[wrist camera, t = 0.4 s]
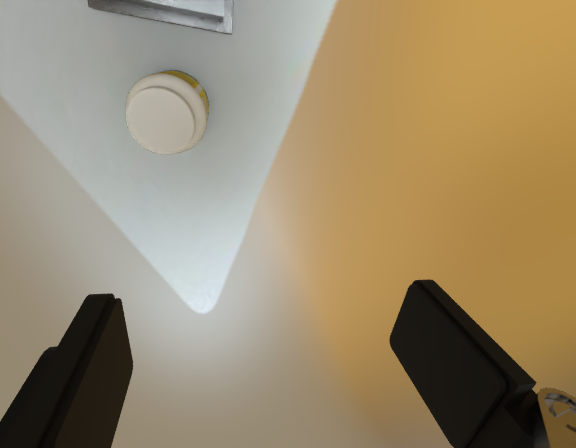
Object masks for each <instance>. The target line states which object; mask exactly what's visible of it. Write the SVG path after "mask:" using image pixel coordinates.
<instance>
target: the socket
mask: <svg viewBox="0 0 576 448" xmlns="http://www.w3.org/2000/svg"><path fill="white" fill-rule="evenodd" d="M88 5H89V7H91V8H94V9H99V10H105V11H110V12H115V13H121V14H126V15H131V16H137V17H142V18H147V19H153V20H158V21H163V22H168V23H174V24H179V25H184V26H190V27H195V28H200V29H206V30H211V31H216V32H222V33H227V34H232V13H233V0H88Z"/></svg>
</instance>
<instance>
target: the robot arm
mask: <svg viewBox="0 0 576 448" xmlns="http://www.w3.org/2000/svg"><path fill="white" fill-rule="evenodd" d="M390 345H391V348H392V350H393V351H394V353H395V354H396V356H397V358H398V359H399V361H400V363H401V364H402V366H403V368H404V369H405V371H406V373H407V374H408V376H409V377H410V379H411V381H412V382H413V384H414V386H415V387H416V389H417V390H418V392H419V394H420V395H421V397H422V399H423V400H424V402H425V404H426V405H427V407H428V408H429V410H430V412H431V413H432V415H433V417H434V418H435V420H436V421H437V423H438V425H439V426H440V428H441V430H442V431H443V433H444V435H445V436H446V438H447V439H448V441H449V443H450V444H451V445H452V446H453V447H454V448H576V398H575V397H573V396H571V395H569V394H567V393H566V392H564V391H560V390H558V389H555V388H543V389H540V390H539V392H538V393H537V394H536V393H535V392H534V391H533V390H532V388H533V387H534V385H535V384H536V382H535V381H534V380H533V379H532V378H531V377H530V376H529V375H528V374H527V373H526V372H525V371H524V370H523V369H522V368H521V367H520V366H519V365H518V364H517V363H516V362H515V361H514V360H513V359H512V358H511V357H510V356H509V355H508V354H507V353H506V352H505V351H504V350H503V349H502V348H501V347H500V346H499V345H498V344H497V343H496V342H495V341H494V340H493V339H492V338H491V337H490V336H489V335H488V334H487V333H486V332H485V331H484V330H483V329H482V328H481V327H480V326H479V325H478V324H477V323H476V322H475V321H474V320H473V319H472V318H471V317H470V316H469V315H468V314H467V313H466V312H465V311H464V310H463V309H462V308H461V307H460V306H459V305H457V303H456V302H455V301H454V300H453V299H452V298H451V297H450V296H449V295H448V294H447V293H446V292H445V291H444V290H443V289H442V288H441V287H440V286H439V285H438V284H437V283H436V282H435V281H433V280H415V281H414V282H413V283H412V285H410V286H409V288H408V291H407V293H406V296H405V298H404V301H403V304H402V306H401V309H400V312H399V314H398V317H397V320H396V322H395V325H394V327H393V330H392V333H391V335H390ZM132 370H133V360H132V355H131V349H130V344H129V338H128V333H127V328H126V322H125V317H124V311H123V306H122V301H121V299H120V298H118V299H117V298H116V299H115V298H114V295H113V294H90V295H88V296H87V297H86V298H85V300H84V302H83V304H82V305H81V307H80V309H79V311H78V312H77V314H76V316H75V317H74V319H73V321H72V322H71V324H70V326H69V328H68V329H67V331H66V333H65V334H64V336H63V338H62V340H61V342H60V343H59V345H58V346H57V347H50V348H48V349H47V350H46V351H44V353H43V354H42V355H41V357H40V358H39V360H38V362H37V363H36V365H35V366H34V368H33V370H32V371H31V373H30V374H29V376H28V378H27V379H26V381H25V382H24V384H23V386H22V387H21V389H20V391H19V392H18V394H17V396H16V397H15V399H14V400H13V402H12V403H11V405H10V407H9V408H8V410H7V412H6V413H5V415H4V416H3V418H2V420H1V421H0V448H111V445H112V442H113V438H114V435H115V431H116V428H117V424H118V421H119V417H120V414H121V410H122V407H123V403H124V400H125V396H126V393H127V389H128V386H129V382H130V379H131V375H132Z"/></svg>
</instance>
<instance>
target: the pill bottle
mask: <svg viewBox="0 0 576 448" xmlns="http://www.w3.org/2000/svg"><path fill="white" fill-rule="evenodd" d="M208 114H209V102H208V98H207V95H206V92H205V91H204V89H203V87H202V86H201V85H200V83H199V82H198V81H197V80H196V79H194V78H193V77H192V76H190V75H188V74H186V73H184V72H180V71H164V72H160V73H156V74H151V75H148V76H146V77H144V78H142V79H140V80H139V81H138V82H136V83H135V84H134V86H133V87H132V88H131V90H130V92H129V94H128V96H127V100H126V122H127V126H128V129H129V131H130V133H131V135H132V136H133V137H134V139H135V140H136V141H137V142H138V143H139V144H140V145H141V146H143V147H144V148H146V149H147V150H149V151H152V152H154V153H158V154H173V153H180V152H183V151H186V150H188V149H190V148H192V147H193V146H195V145H196V144H197V143H198V142H199V141H200V139H201V138H202V136H203V134H204V131H205V128H206V124H207V119H208Z"/></svg>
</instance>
